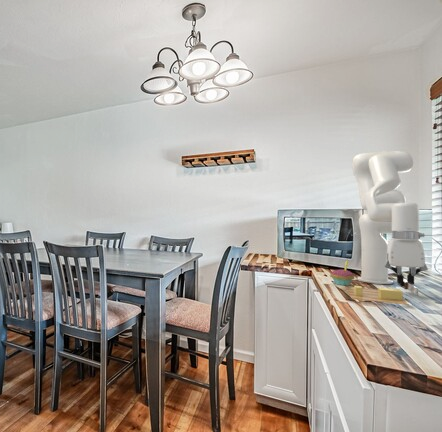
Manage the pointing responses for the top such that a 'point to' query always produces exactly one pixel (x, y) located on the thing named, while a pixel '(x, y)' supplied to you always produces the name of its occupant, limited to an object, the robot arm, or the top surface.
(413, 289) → the knife
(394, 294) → the butter
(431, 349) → the top surface
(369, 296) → the board
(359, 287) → the butter pat
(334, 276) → the birthday cake
